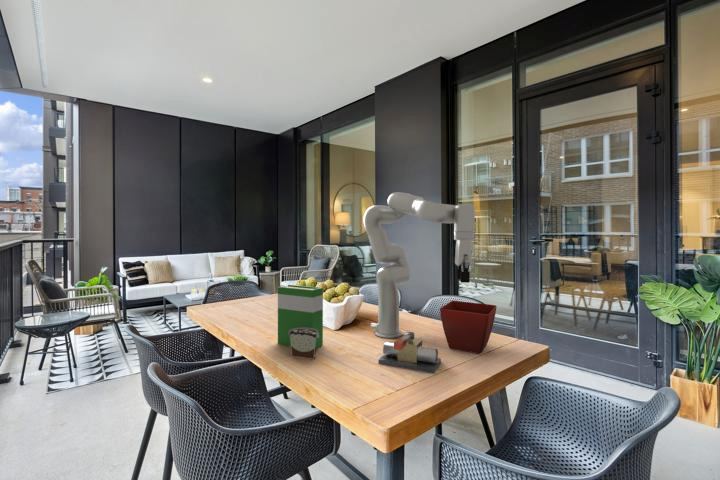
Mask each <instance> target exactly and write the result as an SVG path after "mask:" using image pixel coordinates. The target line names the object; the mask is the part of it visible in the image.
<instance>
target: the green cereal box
mask: <svg viewBox="0 0 720 480" xmlns="http://www.w3.org/2000/svg"><path fill="white" fill-rule="evenodd" d="M323 312H324V288H323V287H321V286H320V287H318V286H309V285H297V284H287V286H277V344H278V345H284V346H289V347H291V344H290V335H288V333H289V330H291V329H294V328H302V327H307V328H314V329H316V330H318V333H319V338H318V339H317V346H316V349H317V347H318V348H320V347H321V346H323V345H324V344H323V343H324V340H323V339H324V338H323V337H324V334H323V333H324V331H323V330H324V329H323V327H324V326H323V325H324V323H323V322H324V319H323V318H324V315H323V314H324V313H323Z"/></svg>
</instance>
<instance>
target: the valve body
mask: <svg viewBox="0 0 720 480" xmlns="http://www.w3.org/2000/svg"><path fill="white" fill-rule="evenodd" d="M394 342H395V341H394ZM394 342H393V341H385V342H384V343H383V346H382V353H383V355H382V356H381V357H379V358H378V364H379V365H384V366H389V367H390V366H391V367H396V368H400V369H401V368H402V369H408V370H412V371H419V372H423V373H429V374H435V372H436V371H437V369H438V368H439V367H440V365H441V364H442V358H439V357H438V355H439V353H438V352H439V351H438V348H433V347H428V346H427V347H425V346H423V339H418V338H414V339H413V340H410V341H409V342H408V343H407V344H406V346H405V347H404V348H403V349H402V350H396V349H394Z"/></svg>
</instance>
